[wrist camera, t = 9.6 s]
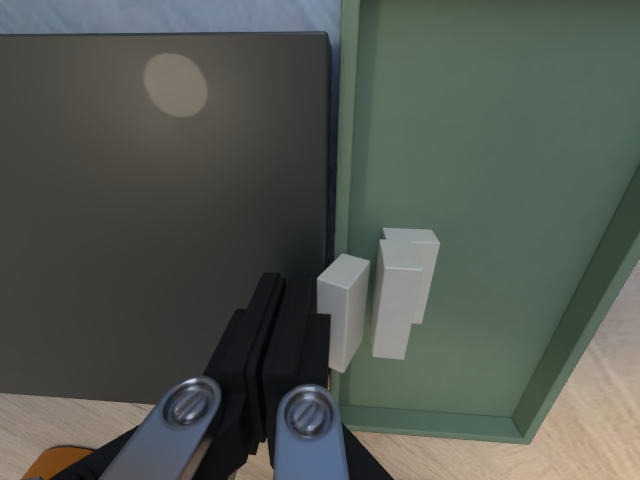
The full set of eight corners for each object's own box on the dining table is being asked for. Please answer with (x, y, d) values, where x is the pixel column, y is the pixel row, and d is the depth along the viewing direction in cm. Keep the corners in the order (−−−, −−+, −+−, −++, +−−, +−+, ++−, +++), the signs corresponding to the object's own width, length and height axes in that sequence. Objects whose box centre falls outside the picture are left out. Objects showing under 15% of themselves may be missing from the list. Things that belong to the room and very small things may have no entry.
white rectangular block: (440, 242, 11) (432, 229, 12) (386, 240, 11) (382, 227, 12) (422, 324, 12) (415, 306, 14) (375, 321, 13) (372, 303, 14)
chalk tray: (343, -59, 8) (344, -91, 7) (762, -72, 8) (858, -109, 6) (329, 402, 18) (328, 429, 16) (514, 416, 17) (529, 445, 16)
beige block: (315, 277, 10) (348, 288, 9) (341, 252, 11) (371, 260, 11) (315, 361, 11) (343, 374, 11) (338, 329, 13) (363, 339, 12)
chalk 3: (384, 267, 9) (423, 270, 9) (379, 238, 11) (411, 240, 11) (371, 357, 11) (404, 360, 11) (368, 320, 13) (396, 322, 12)
